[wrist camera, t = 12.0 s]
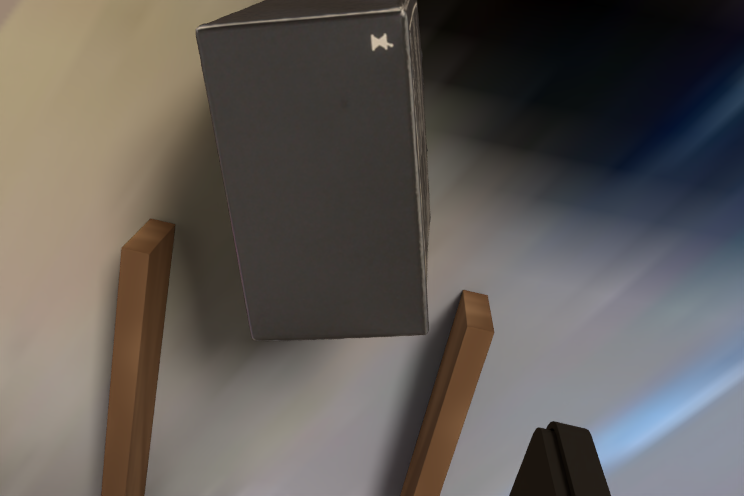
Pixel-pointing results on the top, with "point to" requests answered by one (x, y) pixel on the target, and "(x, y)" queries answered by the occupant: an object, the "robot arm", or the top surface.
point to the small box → (323, 164)
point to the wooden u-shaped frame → (142, 357)
